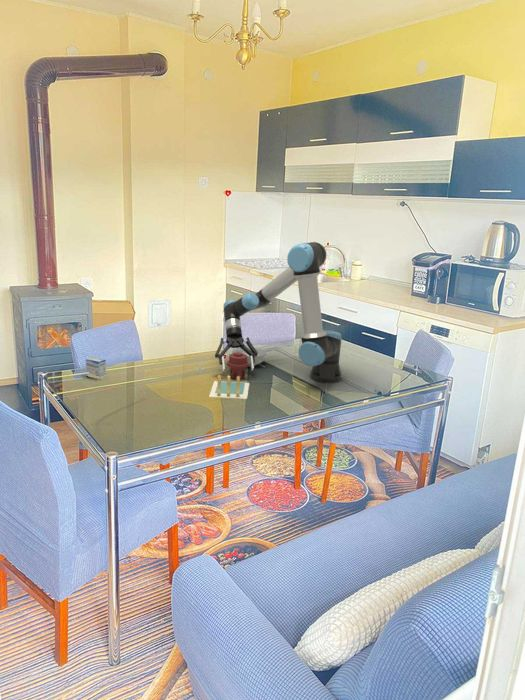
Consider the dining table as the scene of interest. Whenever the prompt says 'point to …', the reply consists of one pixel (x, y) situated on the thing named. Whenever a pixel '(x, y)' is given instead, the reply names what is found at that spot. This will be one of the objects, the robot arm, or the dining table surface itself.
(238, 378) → the pin
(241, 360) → the mechanical component
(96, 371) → the medicine box
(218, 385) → the pin
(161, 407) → the dining table surface
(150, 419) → the dining table surface
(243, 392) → the header board
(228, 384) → the pin
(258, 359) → the cereal bowl
